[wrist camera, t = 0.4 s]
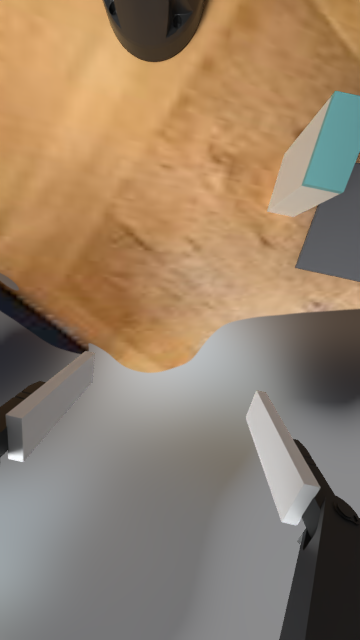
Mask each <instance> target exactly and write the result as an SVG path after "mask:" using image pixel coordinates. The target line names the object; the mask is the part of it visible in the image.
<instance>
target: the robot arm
mask: <svg viewBox="0 0 360 640" xmlns="http://www.w3.org/2000/svg"><path fill="white" fill-rule="evenodd" d="M204 1H205V0H103V3H104V6H105V9H106V12H107V15H108V18H109V21H110V24H111V27H112V29H113V31H114V33H115V35H116V37H117V38H118V40H119V41H120V43H121V44H122V45H123V47H124V48H125V49H126V50H127V51H128V52H130V53H131V54H132V55H134V56H135V57H137V58H139V59H142V60H145V61H151V62H157V61H162V60H166V59H168V58H171V57H172V56H174V55H176V54H177V53H178V52H179V51H181V50H182V49H183V48H184V47H185V46H186V44H187V43H188V42H189V41H190V39H191V38H192V36H193V34H194V33H195V31H196V29H197V26H198V24H199V21H200V18H201V15H202V11H203V7H204ZM94 359H95V353H92V352H88V351H85V352H84V353H83V354H81V355H80V356H79V357H78V358H76V359H75V360H74V361H73V362H71V363H70V364H69V365H68V366H66V367H65V368H64V369H62V370H61V371H60V372H59V373H57V374H56V375H55V376H54V377H52V378H51V379H50V380H49V381H47V382H41V381H39V382H37V383H34V384H32V385H30V386H28V387H27V388H26V389H24V390H23V391H22V392H20V393H19V394H17V395H16V396H15V397H14V398H12V399H10V400H9V401H8V402H6V403H5V404H4V405H3V406H1V407H0V457H1V456H2V455H3V454H4V453H5V452H6V451H7V450H8V458H9V459H13V460H17V461H21V462H24V461H25V460H26V458H27V457H28V456H29V455H30V454H31V453H32V451H33V450H34V449H35V448H36V447H37V446H38V445H39V443H40V442H41V441H42V440H43V439H44V438H45V437H46V435H47V434H48V433H49V432H50V431H51V430H52V428H53V427H54V426H55V425H56V424H57V423H58V421H59V420H60V419H61V418H62V417H63V415H64V414H65V413H66V412H67V411H68V410H69V409H70V407H71V406H72V405H73V404H74V403H75V402H76V401H77V399H78V398H79V397H80V396H81V395H82V394H83V393H84V391H85V390H86V389H87V388H88V387H89V385H90V384H91V383H92V380H93V369H94ZM246 420H247V423H248V426H249V429H250V432H251V435H252V438H253V440H254V444H255V446H256V449H257V452H258V455H259V458H260V461H261V464H262V467H263V470H264V472H265V475H266V478H267V481H268V484H269V487H270V490H271V492H272V495H273V498H274V501H275V504H276V507H277V510H278V513H279V516H280V519H281V521H282V522H284V523H288V524H293V525H297V524H298V523H299V521H300V520H301V518H302V519H303V521H304V524H305V526H306V529H305V530H304V532H303V534H302V535H301V537H300V538H299V540H298V543H299V544H300V543H301V545H300V550H299V555H298V559H297V563H296V568H295V573H294V577H293V581H292V586H291V591H290V595H289V599H288V604H287V609H286V613H285V617H284V622H283V626H282V630H281V635H280V639H279V640H360V518H359V517H358V516H357V514H356V512H355V511H354V510H353V509H352V508H351V507H350V506H349V505H348V504H347V503H346V502H345V501H344V500H342V499H341V498H339V497H337V496H335V495H334V493H333V491H332V490H331V488H330V487H329V485H328V483H327V482H326V480H325V478H324V477H323V475H322V473H321V472H320V470H319V469H318V467H316V464H315V462H314V461H313V459H312V458H311V456H310V454H309V452H308V451H307V449H306V448H305V447H304V446H303V445H302V444H301V443H300V442H299V441H298V440H295V439H292V437H291V435H290V433H289V432H288V430H287V428H286V427H285V425H284V423H283V421H282V420H281V418H280V416H279V415H278V413H277V411H276V409H275V407H274V406H273V404H272V402H271V400H270V399H269V397H268V395H267V394H266V392H262V391H256V393H255V395H254V398H253V400H252V403H251V405H250V408H249V410H248V413H247V415H246Z"/></svg>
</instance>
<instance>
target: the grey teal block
mask: <svg viewBox="0 0 360 640" xmlns="http://www.w3.org/2000/svg"><path fill="white" fill-rule="evenodd" d="M359 152H360V96H358V95H353V94H348V93H344V92H339V91H335V92H334V93H333V95H332V96H331V97H330V98H329V99H328V101H327V102H326V103H325V104H324V106H323V107H322V108H321V109H320V111H319V112H318V113H317V114H316V116H315V117H314V118H313V119H312V120H311V122H310V123H309V124H308V125H307V127H306V128H305V129H304V130H303V132H302V133H301V134H300V135H299V137H298V138H297V139H296V140H295V141H294V143H293V144H292V145H291V146H290V148H289V149H288V150H287V151H286V153H285V154H284V157H283V160H282V164H281V167H280V170H279V173H278V177H277V180H276V183H275V187H274V190H273V193H272V197H271V200H270V203H269V207H268V210H267V212H272V213H277V214H281V215H286V216H291V217H295V216H297V215H299V214H301V213H303V212H305V211H307V210H309V209H311V208H313V207H315V206H317V205H319V204H321V203H323V202H325V201H327V200H329V199H331V198H333V197H335V196H337V195H339V194H341V193H343V192H344V190H345V187H346V185H347V182H348V180H349V177H350V175H351V172H352V170H353V167H354V165H355V162H356V160H357V157H358V154H359Z"/></svg>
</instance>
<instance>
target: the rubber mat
mask: <svg viewBox="0 0 360 640" xmlns="http://www.w3.org/2000/svg"><path fill="white" fill-rule="evenodd" d="M295 268H299V269H303V270H308V271H312V272H317V273H322V274H326V275H331V276H336V277H340V278H345V279H350V280H354V281H359V282H360V163H355V165H354V167H353V170H352V172H351V175H350V177H349V180H348V182H347V185H346V187H345V190H344V192H343V193H341V194H339V195H337V196H335V197H333V198H331V199H329V200H327V201H325V202H323V203H321V204H319V205H318V206H317V209H316V212H315V215H314V217H313V220H312V223H311V225H310V228H309V231H308V234H307V236H306V239H305V242H304V244H303V247H302V250H301V253H300V255H299V258H298V261H297V264H296V266H295Z"/></svg>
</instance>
